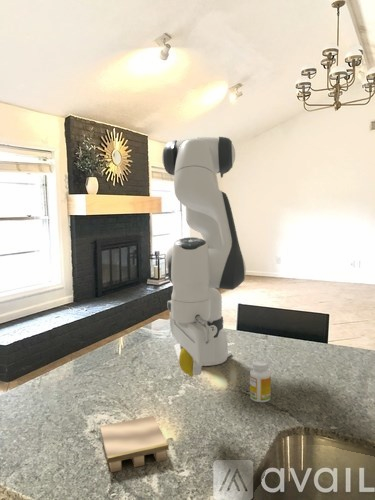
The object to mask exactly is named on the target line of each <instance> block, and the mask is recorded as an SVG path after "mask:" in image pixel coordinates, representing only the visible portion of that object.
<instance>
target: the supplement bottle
mask: <svg viewBox="0 0 375 500" xmlns="http://www.w3.org/2000/svg"><path fill="white" fill-rule="evenodd" d="M271 379H272V375H271V371H270V370H269V362H268V361H267V360H263V359H256V360H255V359H254V360H253V361H252V368H251V369H250V372H249V398H250V399H251V400H252V401H253V402H255V403H256V402H257V403H267V402H269V401H271V396H272V395H271V394H272V393H271V392H272V389H271V387H272V384H271V383H272V381H271Z"/></svg>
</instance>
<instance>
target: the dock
mask: <svg viewBox="0 0 375 500" xmlns="http://www.w3.org/2000/svg"><path fill="white" fill-rule="evenodd" d="M99 432H100V435H101V439H102V443H103V448H104V452H105V456H106V461H107V464H108V465H109V469H110V473H114V472H115V473H116V472H120V471H122V461H125V460H129V459H130V460H131V461H132V465H133V467H134V468H136V467H141V466H145V456H147V455H148V456H149V455H151V454H152V455H153V457H154V459H155V461H156V463H158V462H163V461H167V451H169V449H170V448H169V443H168V441H167V440H166V438H165V435H164V434H163V431H162V430H161V428H160V425H159V423H158V422H157V420H156V418H155V416H154V415H148V416H145V417H140V418H134V419H129V420H124V421H119V422H113V423H109V424H103V425H100V426H99Z"/></svg>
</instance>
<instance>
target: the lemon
mask: <svg viewBox="0 0 375 500" xmlns="http://www.w3.org/2000/svg"><path fill="white" fill-rule="evenodd" d="M178 363H179V367H180V369H181V370H182V372H183V373H185V374H187V375H189V376H190V377H194V376H195V375H194V374H193V373H192V365H193V363H194V361H193V358H192V357H191V356H190V354H189V353H188V352H187V351H186V350H185V349H184V348H182V350H181V352H180V356H179V361H178ZM202 367H203V366H202ZM202 367H201V369H203V368H202Z"/></svg>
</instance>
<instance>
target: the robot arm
mask: <svg viewBox="0 0 375 500" xmlns="http://www.w3.org/2000/svg"><path fill="white" fill-rule="evenodd" d="M235 160H236V149H235V146H234V145H233V141H232V140H231V139H230V138H229V137H224V136H218V137H212V136H211V137H210V136H204V137H203V136H201V137H195V138H186V139H182V140H176V139H175V140H172V141H168V142H167V143H166V144H165V145H164V147H163V151H162V155H161V161H162V164H163V167H164V170H165V171H166V173H168V174H169V175H171V176H174V177H173V186H174V187H173V188H174V194H175V195H174V196H176V199H177V200H178V201H179V202H180V203H181V204H182V205H183V206H184V207H185V216H186V217H185V220H186V224H187V226H188V227H189V228H190V229H192V230H194V231H195V232H197V233H200V234H201V236H202V238H198V237H193V236H192V237H189V236H188V237H183V238H179V239H177V240H176V241H174V243H173V246H170V248H169V249H168V250H167V253H166V255H165V265H166V269H167V270H168V273H167V275H168V280H169V282H170V283H171V284H172V293H171V296H170V297H171V299H170V300H167V302H166V303H167V304H166V305H167V310H168V311H169V325H170V332H171V335H172V337H173V338H174V339H175V340H176V342H177V343H175V344H174V347H173V349H174V352H175V355H176V357H177V362H179V356H180V352H181V350H182V348H184V349H185V350H186V351H187V352H188V353H189V354H190V356H191V357H192V358H193V361H194V363H193V365H192V373H193V374H194V375H193V376H199V375H202V368H201V367H204V366H205V367H206V366H207V367H209V366H216V365H220V364H223V363H224V362H226V361H227V359H228V358H229V357H230V356H232V351H231V350H229V348H228V347H229V346H228V335H227V331H226V329H224V317H223V316H222V315H223V313H222V312H223V310H222V308H223V307H222V306H223V305H222V303H223V301H222V295H221V293H220V291H219V289H220V290H230V291H232V290H235V289H236V288H237V287H239V286H240V285H241V284H243V282H244V281H245V277H246V272H247V271H246V270H247V269H246V268H247V267H246V262H245V259H244V257H243V254H242V253H243V252H242V250H241V246H240V242H239V238H238V233H237V229H236V224H235V219H234V216H233V212H232V207H231V203H230V200H229V197H228V195H227V193H225V192H223V191H222V190H220V188H219V182H218V178H217V174H219V173H220V174H219V175H220V178H223V177H224V175H225V174H227V173H229V172H230V171H231V170H232V168H233V165H234V163H235ZM217 288H218V289H217Z"/></svg>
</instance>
